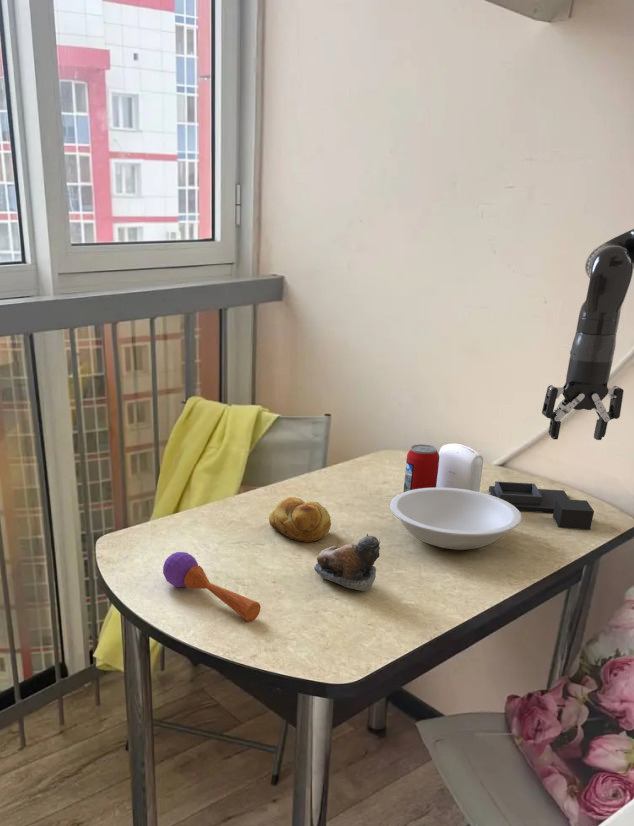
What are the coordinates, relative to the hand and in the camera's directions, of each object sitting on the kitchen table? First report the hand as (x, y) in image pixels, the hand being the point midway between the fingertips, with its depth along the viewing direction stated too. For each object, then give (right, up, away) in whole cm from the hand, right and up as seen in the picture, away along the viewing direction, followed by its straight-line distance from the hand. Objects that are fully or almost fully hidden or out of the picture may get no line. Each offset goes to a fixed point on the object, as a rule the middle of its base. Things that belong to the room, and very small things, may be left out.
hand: (575, 438), depth 154 cm
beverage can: (-28, -12, +14) cm, 33 cm away
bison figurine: (-49, -28, -21) cm, 60 cm away
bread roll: (-55, -19, -2) cm, 59 cm away
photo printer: (-20, -12, +15) cm, 27 cm away
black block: (+1, -17, +3) cm, 17 cm away
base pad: (-3, -12, +14) cm, 19 cm away
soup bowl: (-26, -20, -5) cm, 34 cm away
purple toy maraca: (-72, -30, -27) cm, 83 cm away
